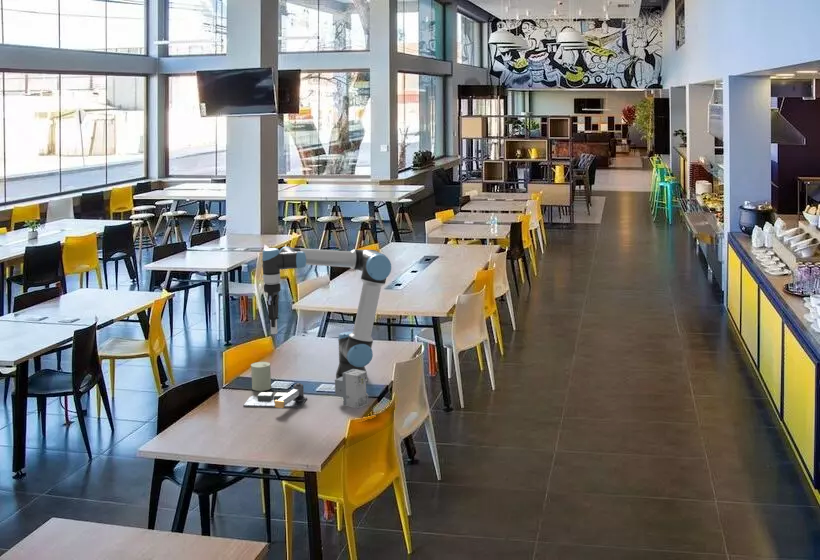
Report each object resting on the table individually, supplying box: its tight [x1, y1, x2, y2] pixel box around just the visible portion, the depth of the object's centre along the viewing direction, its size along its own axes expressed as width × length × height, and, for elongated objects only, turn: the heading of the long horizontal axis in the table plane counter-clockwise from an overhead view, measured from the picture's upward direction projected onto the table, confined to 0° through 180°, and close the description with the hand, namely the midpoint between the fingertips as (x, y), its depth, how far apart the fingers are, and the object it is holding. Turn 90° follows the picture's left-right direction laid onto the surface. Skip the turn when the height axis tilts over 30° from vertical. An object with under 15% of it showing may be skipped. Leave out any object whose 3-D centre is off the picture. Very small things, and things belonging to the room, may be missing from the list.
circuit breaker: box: [334, 369, 369, 409], centre depth 419 cm, size 8×14×15 cm, turn 55°
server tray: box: [242, 391, 308, 409], centre depth 422 cm, size 26×13×3 cm, turn 83°
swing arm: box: [274, 382, 305, 409], centre depth 416 cm, size 22×4×7 cm, turn 161°
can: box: [250, 361, 272, 392], centre depth 443 cm, size 9×9×12 cm
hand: (274, 333), depth 427 cm, fingers closed
